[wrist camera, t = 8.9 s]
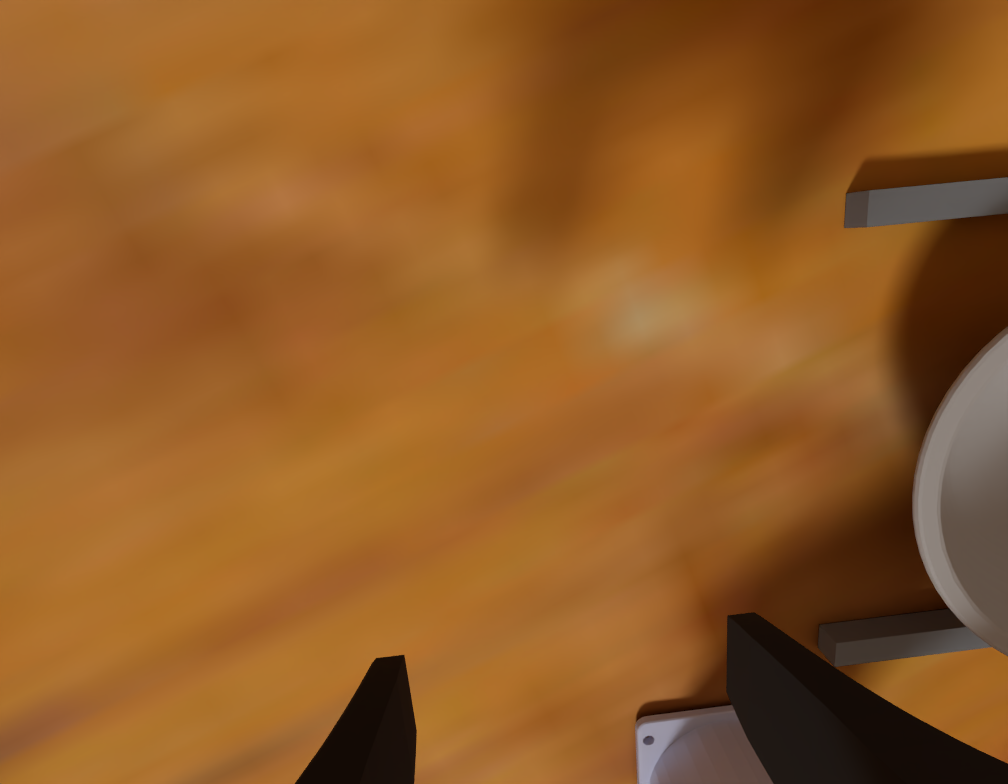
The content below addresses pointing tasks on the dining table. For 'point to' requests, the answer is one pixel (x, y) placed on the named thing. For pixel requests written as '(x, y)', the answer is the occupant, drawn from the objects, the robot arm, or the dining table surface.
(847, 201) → the gray square frame
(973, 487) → the dish
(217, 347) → the dining table surface
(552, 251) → the dining table surface
